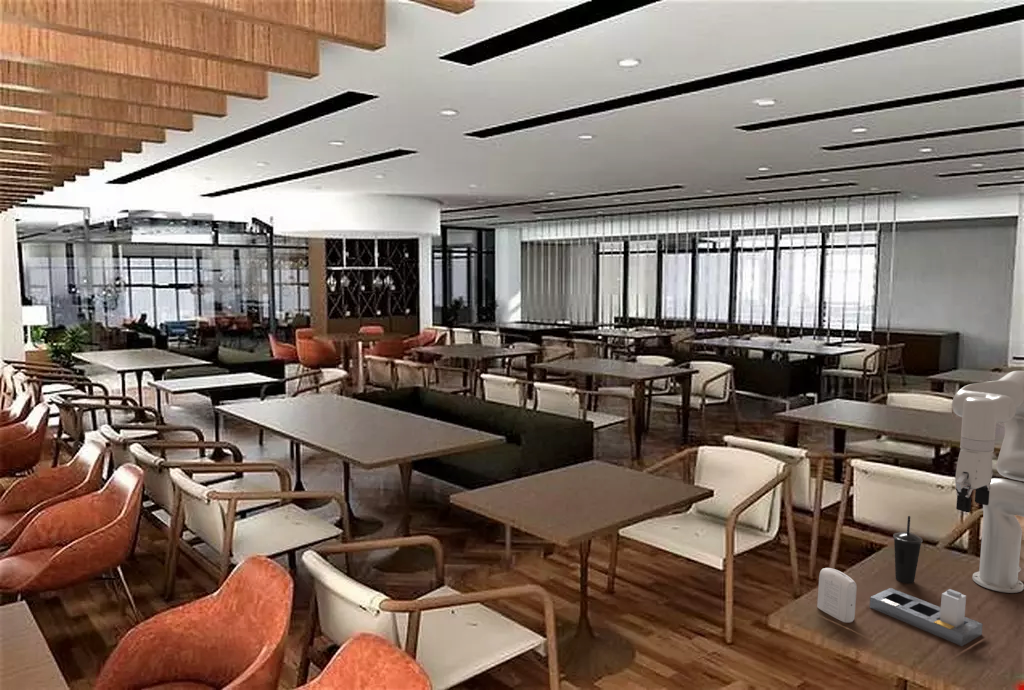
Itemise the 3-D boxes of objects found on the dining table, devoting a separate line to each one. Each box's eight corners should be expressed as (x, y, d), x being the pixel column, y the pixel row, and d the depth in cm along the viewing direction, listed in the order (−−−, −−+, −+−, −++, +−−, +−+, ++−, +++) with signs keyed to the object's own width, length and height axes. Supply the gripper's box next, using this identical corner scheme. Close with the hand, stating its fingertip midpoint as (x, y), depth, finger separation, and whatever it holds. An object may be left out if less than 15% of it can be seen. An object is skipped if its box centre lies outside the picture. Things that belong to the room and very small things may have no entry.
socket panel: (889, 599, 206) (890, 587, 205) (981, 636, 186) (982, 622, 186) (869, 608, 201) (870, 596, 200) (961, 647, 181) (962, 633, 180)
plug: (947, 626, 190) (950, 586, 189) (963, 632, 187) (966, 592, 185) (939, 630, 188) (941, 590, 187) (955, 637, 185) (958, 596, 183)
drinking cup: (923, 587, 213) (927, 522, 210) (894, 585, 214) (899, 520, 212) (914, 576, 220) (918, 512, 218) (887, 574, 222) (891, 511, 219)
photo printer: (857, 621, 193) (859, 577, 192) (845, 625, 192) (848, 580, 190) (825, 605, 203) (828, 562, 201) (814, 608, 201) (816, 565, 199)
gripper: (978, 436, 199) (973, 497, 201) (945, 446, 189) (940, 509, 192) (1008, 442, 193) (1003, 505, 195) (976, 452, 183) (971, 518, 185)
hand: (972, 507), depth 193 cm, fingers open, 9 cm apart
